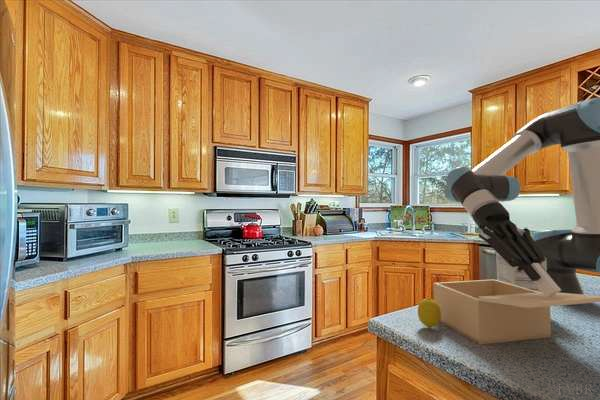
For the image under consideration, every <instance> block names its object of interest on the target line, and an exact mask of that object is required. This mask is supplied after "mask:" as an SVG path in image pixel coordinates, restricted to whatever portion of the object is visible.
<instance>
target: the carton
mask: <svg viewBox="0 0 600 400" xmlns="http://www.w3.org/2000/svg"><path fill="white" fill-rule="evenodd" d="M432 285H433V287H432V288H433V300H434V301H436V302H437V303H438V305H439V307H440V311H441V320H440V322H439V323H441V324H443V325H445V326H446V327H448V328H450V329H451V330H454V331H455V332H457V333H458V334H460V335H461V336H464V337H465V338H467V339H468V340H470V341H472V342H474V343H475V344H477V345H479V346H481V345H489V344H497V343H508V342H518V341H526V340H527V341H528V340H535V339H544V338H545V339H546V338H551V337H552V328H551V327H552V326H551V324H552V323H551V306H546V307H534V308H525V307H518V306H512V305H505V304H499V303H492V302H486V301H479V299H478V297H482V296H496V295H510V294H525V293H539V292H537V291H534V290H530V289H526V288H523V287H519V286H516V285H512V284H509V283H505V282H502V281H498V280H497V279H478V280H477V279H476V280H462V281H460V280H459V281H445V282H433V284H432Z"/></svg>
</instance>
